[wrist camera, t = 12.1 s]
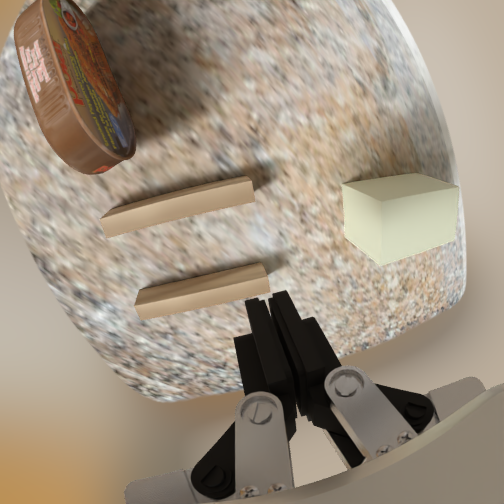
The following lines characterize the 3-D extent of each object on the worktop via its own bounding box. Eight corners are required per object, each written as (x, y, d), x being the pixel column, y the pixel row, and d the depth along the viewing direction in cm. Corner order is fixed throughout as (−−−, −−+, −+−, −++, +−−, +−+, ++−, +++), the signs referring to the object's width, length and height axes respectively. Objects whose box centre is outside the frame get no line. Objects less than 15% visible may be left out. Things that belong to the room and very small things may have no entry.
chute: (110, 209, 19) (99, 219, 17) (246, 175, 20) (251, 180, 18) (145, 303, 23) (140, 320, 21) (263, 276, 24) (270, 292, 22)
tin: (147, 151, 18) (113, 163, 11) (113, 171, 18) (63, 196, 11) (87, 9, 11) (45, -32, 4) (56, 30, 11) (5, 1, 4)
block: (341, 183, 22) (381, 201, 17) (415, 172, 23) (459, 186, 17) (344, 236, 24) (380, 266, 19) (415, 218, 25) (454, 240, 19)
